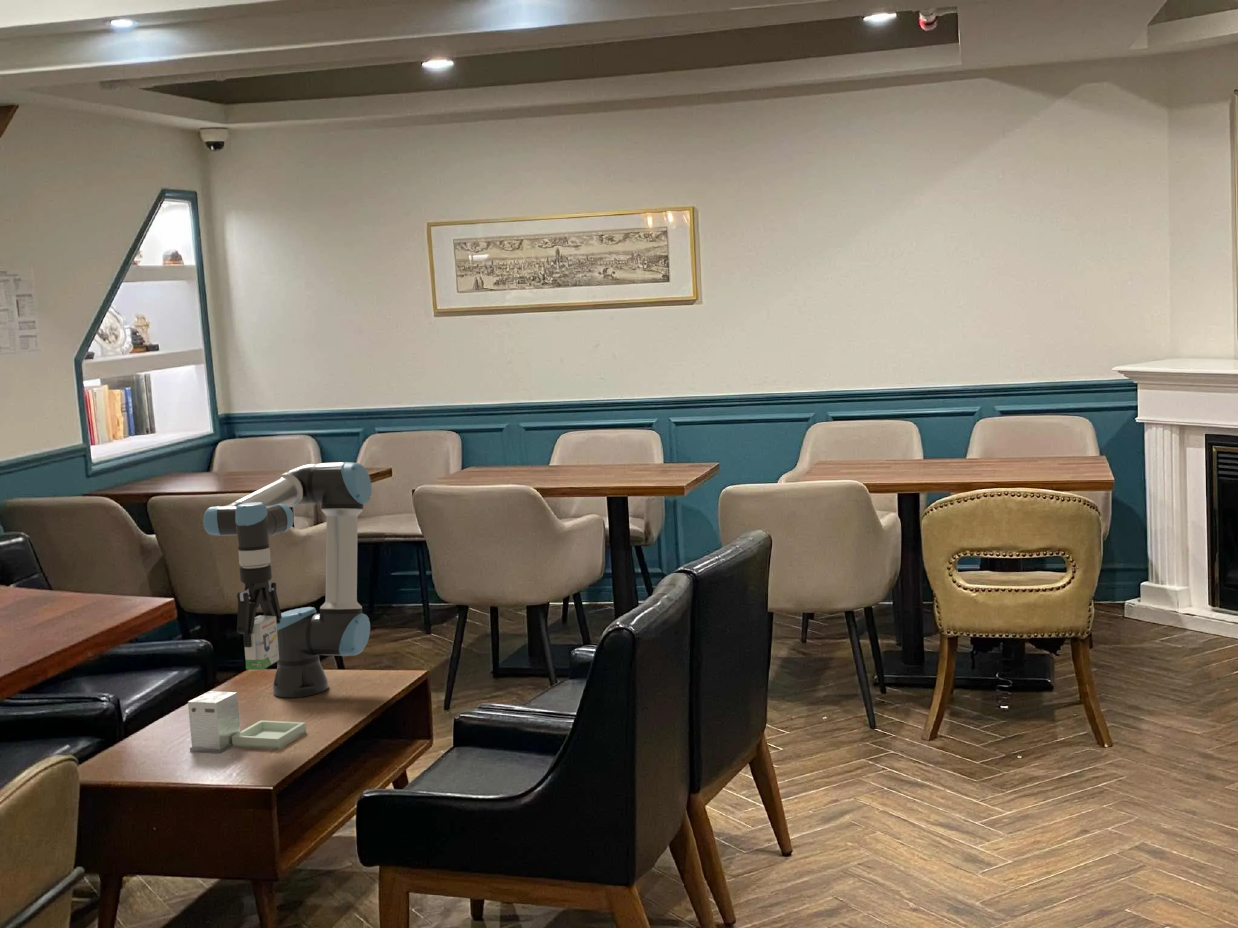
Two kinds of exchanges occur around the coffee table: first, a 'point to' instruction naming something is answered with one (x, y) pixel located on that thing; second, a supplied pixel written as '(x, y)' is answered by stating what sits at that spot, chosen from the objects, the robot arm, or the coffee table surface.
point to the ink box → (264, 643)
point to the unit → (213, 721)
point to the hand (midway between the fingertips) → (262, 654)
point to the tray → (269, 734)
